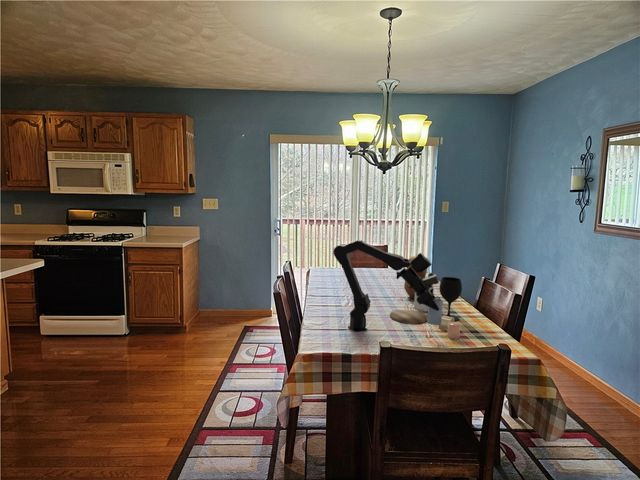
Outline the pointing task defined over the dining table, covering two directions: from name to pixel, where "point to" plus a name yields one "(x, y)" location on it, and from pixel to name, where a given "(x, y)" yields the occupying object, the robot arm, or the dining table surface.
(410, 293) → the butternut squash
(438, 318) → the blue-grey cup
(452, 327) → the pink short cylinder
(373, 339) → the dining table surface
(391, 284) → the dining table surface
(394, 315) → the brown bread loaf
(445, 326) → the birch block
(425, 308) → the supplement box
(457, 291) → the wine glass
